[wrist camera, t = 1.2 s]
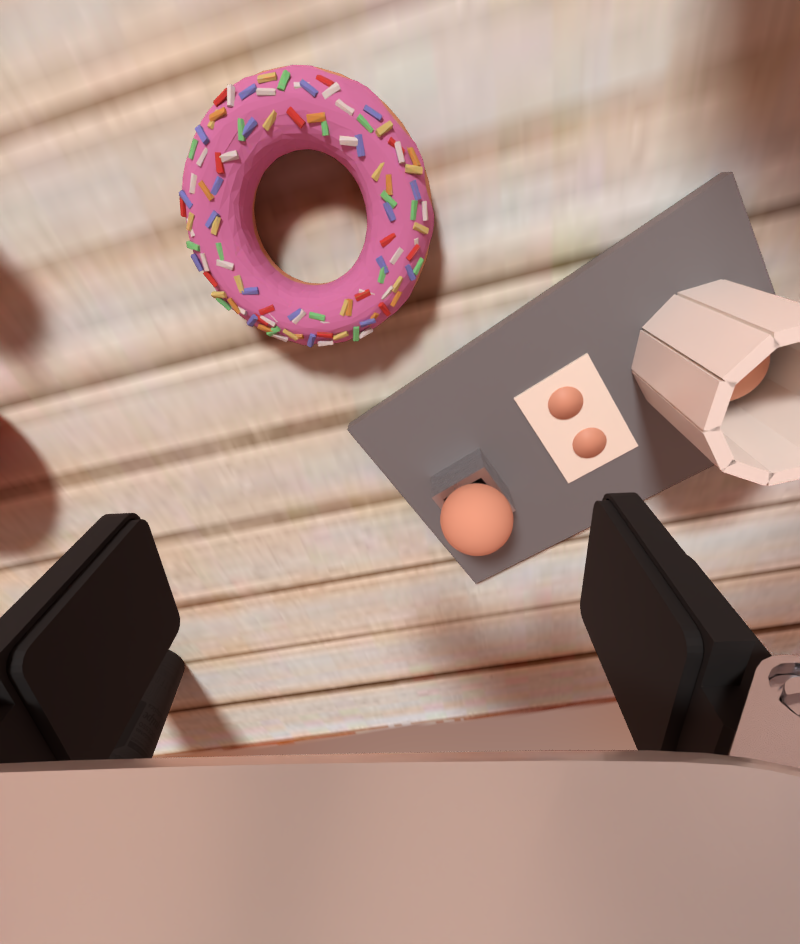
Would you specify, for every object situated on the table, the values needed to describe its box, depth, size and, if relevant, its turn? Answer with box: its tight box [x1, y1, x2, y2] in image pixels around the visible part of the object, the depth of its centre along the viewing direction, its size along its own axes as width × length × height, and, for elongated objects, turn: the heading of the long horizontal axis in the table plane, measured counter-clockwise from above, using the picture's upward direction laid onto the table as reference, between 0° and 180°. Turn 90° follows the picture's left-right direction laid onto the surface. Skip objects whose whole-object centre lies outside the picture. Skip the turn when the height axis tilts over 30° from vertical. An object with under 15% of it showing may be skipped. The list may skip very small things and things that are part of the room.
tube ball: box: [730, 355, 770, 401], centre depth 32 cm, size 5×5×5 cm
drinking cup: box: [109, 650, 184, 759], centre depth 44 cm, size 8×8×20 cm
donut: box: [179, 65, 434, 347], centre depth 30 cm, size 14×14×5 cm
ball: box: [440, 483, 513, 556], centre depth 35 cm, size 5×5×5 cm
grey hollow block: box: [431, 448, 516, 512], centre depth 38 cm, size 4×4×3 cm
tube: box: [631, 279, 800, 486], centre depth 29 cm, size 9×9×10 cm
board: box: [348, 172, 775, 583], centre depth 37 cm, size 28×18×2 cm, turn 126°
